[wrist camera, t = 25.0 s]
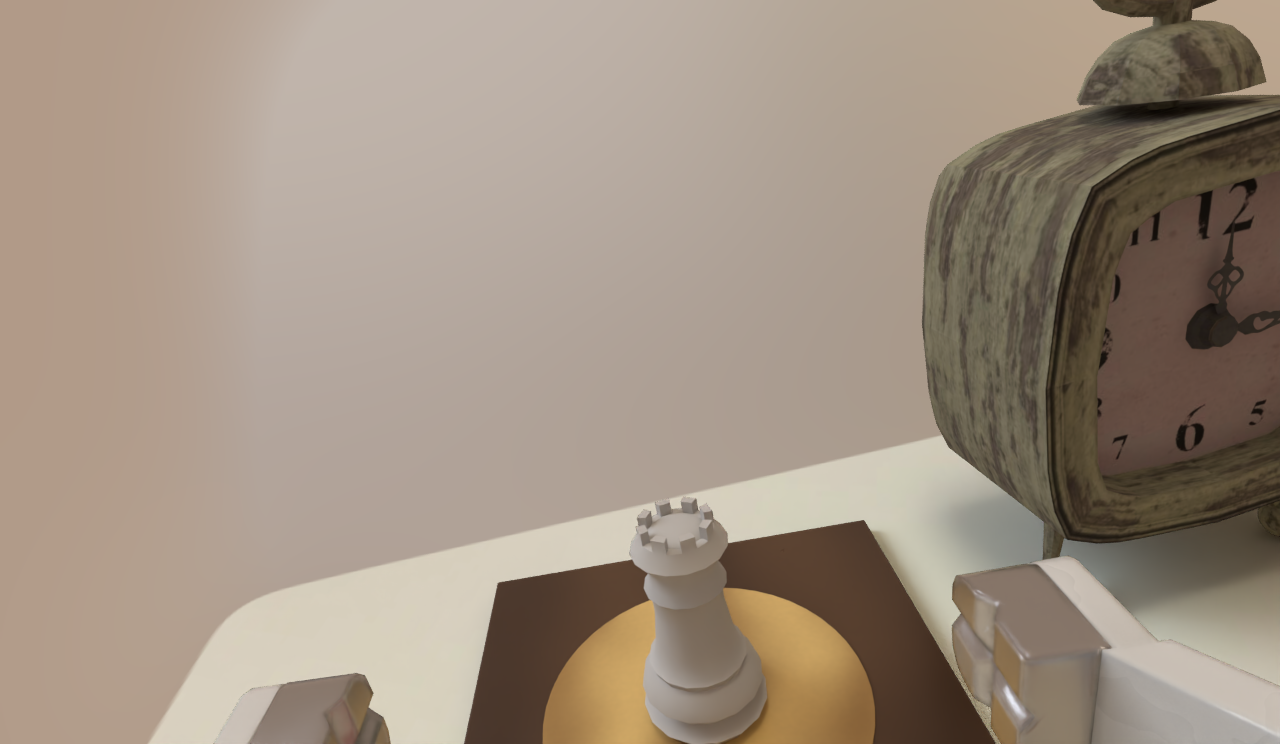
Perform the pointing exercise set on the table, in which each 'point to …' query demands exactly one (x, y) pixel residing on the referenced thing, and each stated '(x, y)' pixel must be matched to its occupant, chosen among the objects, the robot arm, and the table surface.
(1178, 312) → the tabletop clock
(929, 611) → the table surface
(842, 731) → the brown flat square panel
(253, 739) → the robot arm
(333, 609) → the table surface
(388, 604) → the table surface
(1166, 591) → the table surface
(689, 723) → the rook chess piece
